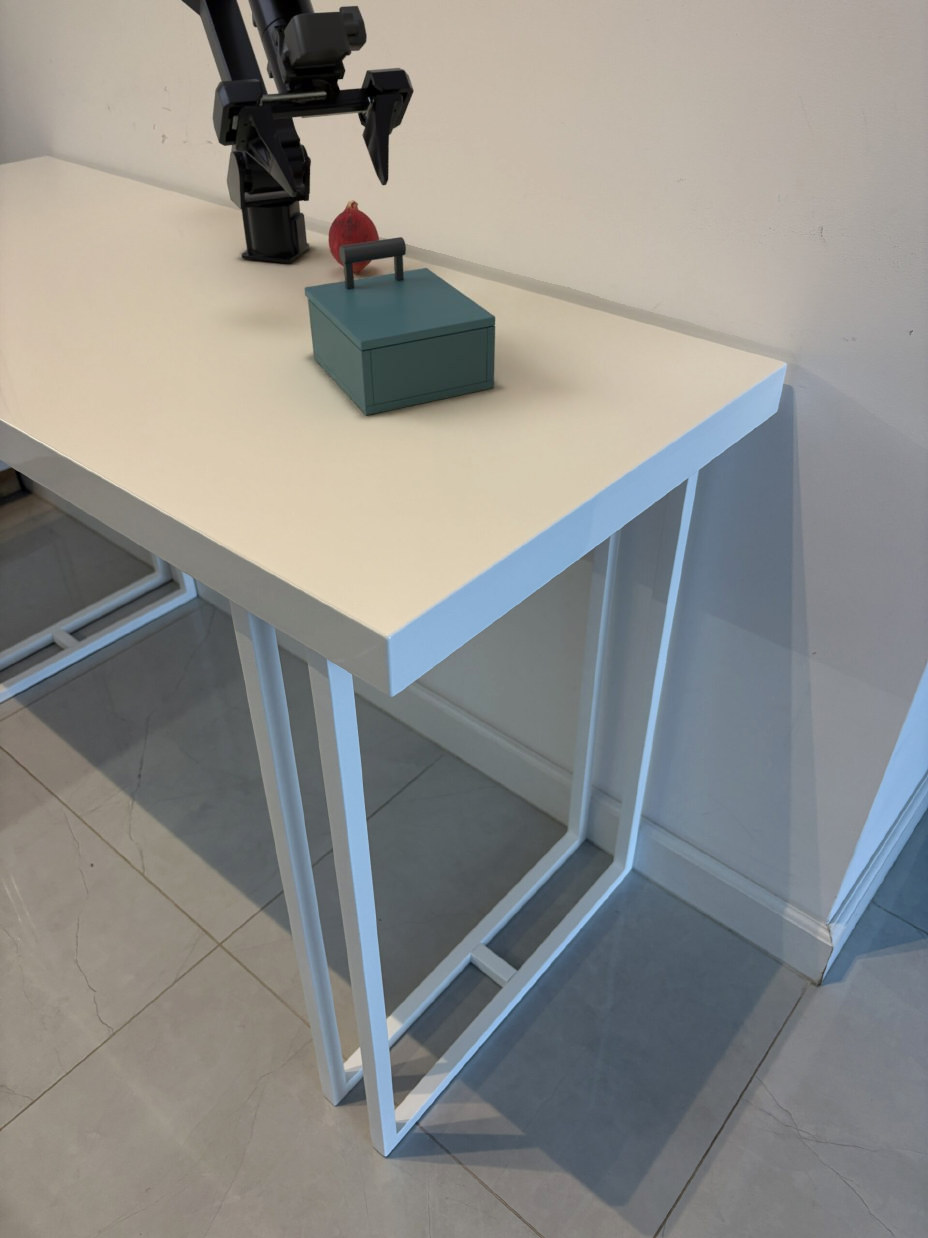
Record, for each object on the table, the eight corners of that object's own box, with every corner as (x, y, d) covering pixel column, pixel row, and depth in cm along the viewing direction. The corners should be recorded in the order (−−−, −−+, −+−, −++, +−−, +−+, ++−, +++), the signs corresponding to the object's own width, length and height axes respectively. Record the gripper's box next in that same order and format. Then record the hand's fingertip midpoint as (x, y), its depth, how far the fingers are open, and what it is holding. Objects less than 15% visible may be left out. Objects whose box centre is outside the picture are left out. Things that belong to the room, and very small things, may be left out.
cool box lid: (304, 295, 87) (299, 244, 84) (427, 275, 92) (425, 226, 89) (361, 350, 77) (357, 295, 74) (495, 325, 82) (496, 272, 79)
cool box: (313, 358, 90) (307, 298, 87) (431, 335, 95) (430, 278, 91) (365, 415, 81) (361, 351, 77) (494, 387, 85) (495, 325, 82)
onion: (373, 283, 107) (369, 209, 102) (325, 280, 108) (318, 206, 103) (385, 266, 111) (382, 195, 106) (339, 263, 112) (333, 192, 107)
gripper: (198, -27, 79) (254, 145, 78) (402, -35, 85) (455, 124, 84) (192, 65, 89) (241, 218, 88) (374, 52, 96) (421, 195, 95)
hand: (340, 188), depth 89 cm, fingers open, 9 cm apart
